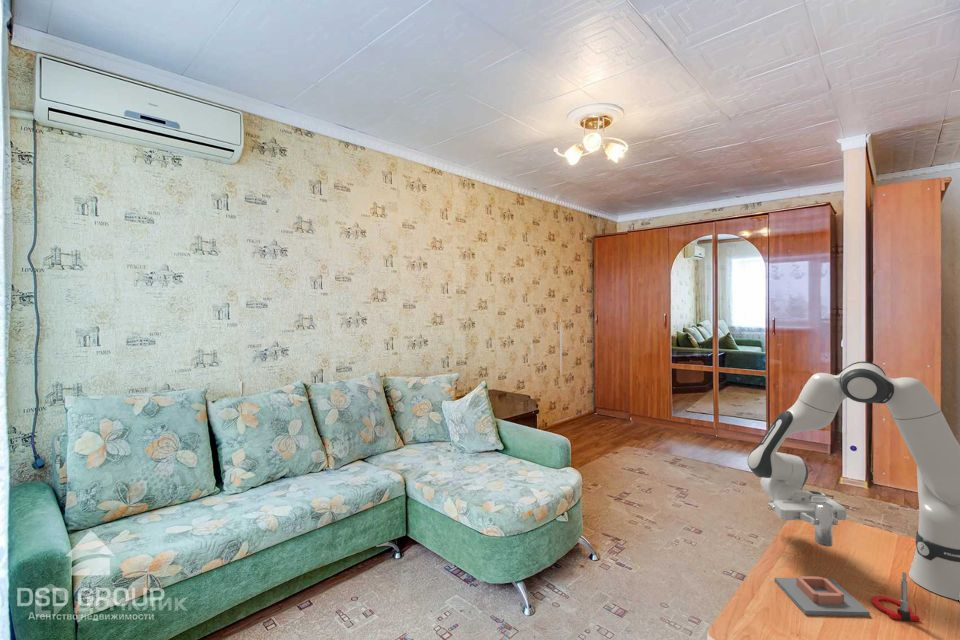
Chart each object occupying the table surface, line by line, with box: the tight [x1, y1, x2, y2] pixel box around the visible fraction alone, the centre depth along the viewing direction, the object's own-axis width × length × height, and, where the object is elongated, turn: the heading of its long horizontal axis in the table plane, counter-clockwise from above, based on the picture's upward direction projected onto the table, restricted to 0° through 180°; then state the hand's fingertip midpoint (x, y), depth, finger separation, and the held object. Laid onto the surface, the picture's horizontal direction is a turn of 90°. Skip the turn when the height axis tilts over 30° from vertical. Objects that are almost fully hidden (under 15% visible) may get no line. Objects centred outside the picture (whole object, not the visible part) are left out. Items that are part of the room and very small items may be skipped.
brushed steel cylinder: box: [814, 502, 834, 548], centre depth 137 cm, size 4×4×12 cm
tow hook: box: [871, 571, 920, 622], centre depth 123 cm, size 8×13×9 cm
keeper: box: [773, 575, 871, 617], centre depth 128 cm, size 17×14×4 cm
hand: (825, 522), depth 136 cm, fingers closed on brushed steel cylinder, 4 cm apart
